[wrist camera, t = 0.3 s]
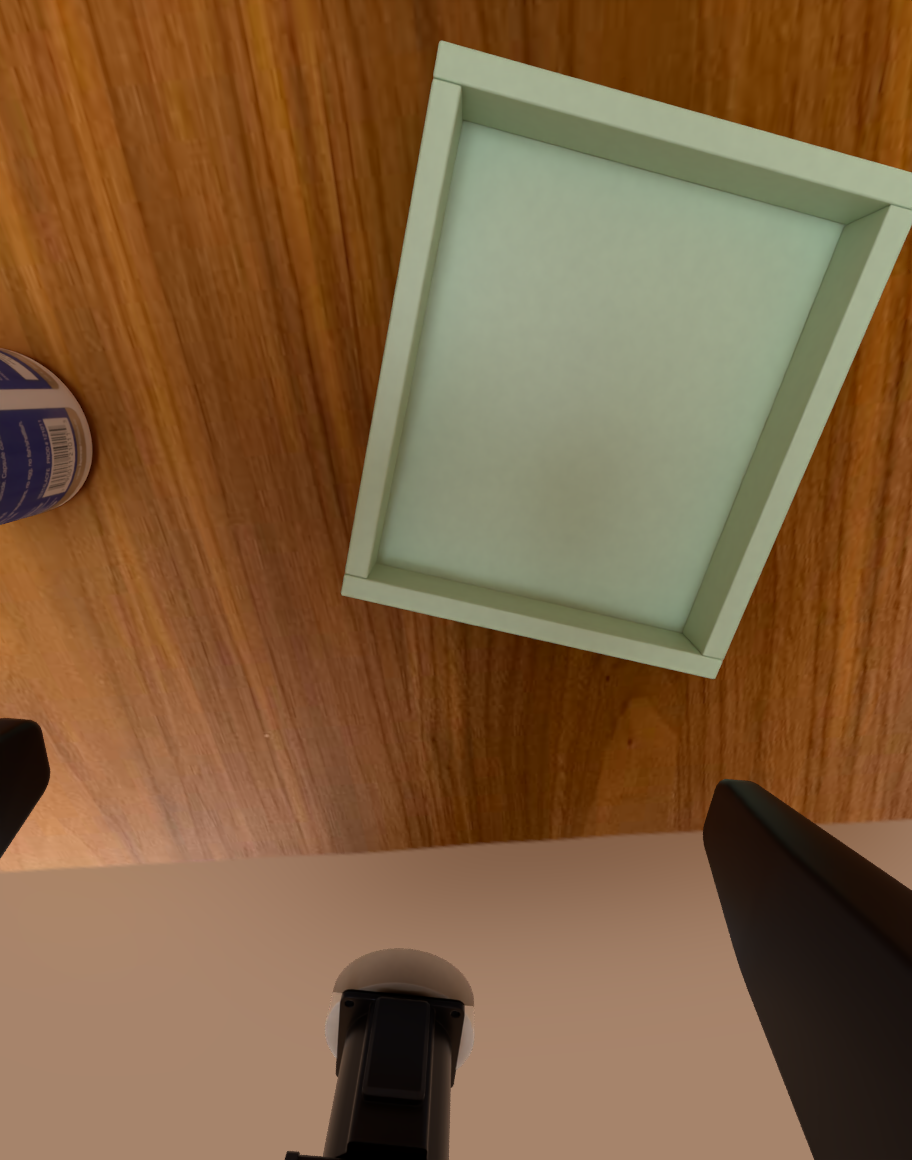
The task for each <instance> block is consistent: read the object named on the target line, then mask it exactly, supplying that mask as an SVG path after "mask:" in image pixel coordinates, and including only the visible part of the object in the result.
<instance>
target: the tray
mask: <svg viewBox="0 0 912 1160" xmlns="http://www.w3.org/2000/svg"><path fill="white" fill-rule="evenodd" d="M433 76H434V79H433V81H432V85H431V91H430V96H429V102H428V108H427V113H426V119H425V125H424V130H423V136H422V141H421V147H420V153H419V158H418V164H417V169H416V175H415V181H414V186H413V192H412V198H411V203H410V209H409V214H408V220H407V226H406V231H405V237H404V242H403V248H402V254H401V259H400V265H399V270H398V276H397V282H396V287H395V293H394V299H393V304H392V310H391V315H390V321H389V327H388V332H387V338H386V343H385V349H384V355H383V360H382V366H381V372H380V377H379V383H378V388H377V394H376V400H375V405H374V411H373V416H372V422H371V428H370V433H369V439H368V444H367V450H366V456H365V461H364V467H363V473H362V478H361V484H360V489H359V495H358V501H357V506H356V512H355V517H354V523H353V529H352V534H351V540H350V546H349V551H348V557H347V562H346V568H345V575H344V579H343V585H342V590H341V595H343V596H347V597H352V598H356V599H361V600H365V601H369V602H374V603H378V604H383V605H387V606H392V607H396V608H400V609H405V610H409V611H414V612H418V613H423V614H427V615H431V616H436V617H440V618H445V619H449V620H454V621H458V622H463V623H467V624H471V625H476V626H480V627H485V628H489V629H494V630H498V631H502V632H507V633H511V634H516V635H520V636H525V637H529V638H533V639H538V640H542V641H547V642H551V643H556V644H560V645H565V646H569V647H573V648H578V649H582V650H587V651H591V652H596V653H600V654H604V655H609V656H613V657H618V658H622V659H627V660H631V661H635V662H640V663H644V664H649V665H653V666H658V667H662V668H667V669H671V670H675V671H680V672H684V673H689V674H693V675H698V676H702V677H706V678H711V679H715V678H716V675H717V673H718V671H719V668H720V666H721V664H722V659H724V657H725V655H726V652H727V650H728V648H729V645H730V643H731V641H732V639H733V636H734V634H735V632H736V629H737V627H738V625H739V622H740V620H741V618H742V615H743V613H744V611H745V609H746V606H747V604H748V602H749V599H750V597H751V595H752V592H753V590H754V588H755V585H756V583H757V581H758V578H759V576H760V574H761V572H762V569H763V567H764V565H765V562H766V560H767V558H768V555H769V553H770V551H771V548H772V546H773V544H774V542H775V539H776V537H777V535H778V532H779V530H780V528H781V525H782V523H783V521H784V518H785V516H786V514H787V512H788V509H789V507H790V505H791V502H792V500H793V498H794V495H795V493H796V491H797V488H798V486H799V484H800V481H801V479H802V477H803V475H804V472H805V470H806V468H807V465H808V463H809V461H810V458H811V456H812V454H813V451H814V449H815V447H816V445H817V442H818V440H819V438H820V435H821V433H822V431H823V428H824V426H825V424H826V421H827V419H828V417H829V415H830V412H831V410H832V408H833V405H834V403H835V401H836V398H837V396H838V394H839V391H840V389H841V387H842V384H843V382H844V380H845V378H846V375H847V373H848V371H849V368H850V366H851V364H852V361H853V359H854V357H855V354H856V352H857V350H858V348H859V345H860V343H861V341H862V338H863V336H864V334H865V331H866V329H867V327H868V324H869V322H870V320H871V318H872V315H873V313H874V311H875V308H876V306H877V304H878V301H879V299H880V297H881V294H882V292H883V290H884V287H885V285H886V283H887V281H888V278H889V276H890V274H891V271H892V269H893V267H894V264H895V262H896V260H897V257H898V255H899V253H900V251H901V248H902V246H903V244H904V241H905V239H906V237H907V234H908V232H909V230H910V227H911V225H912V173H911V172H908V171H904V170H901V169H897V168H893V167H890V166H886V165H883V164H879V163H876V162H872V161H869V160H865V159H861V158H858V157H854V156H851V155H847V154H844V153H840V152H836V151H833V150H829V149H826V148H822V147H819V146H815V145H812V144H808V143H804V142H801V141H797V140H794V139H790V138H787V137H783V136H780V135H776V134H772V133H769V132H765V131H762V130H758V129H755V128H751V127H747V126H744V125H740V124H737V123H733V122H730V121H726V120H723V119H719V118H715V117H712V116H708V115H705V114H701V113H698V112H694V111H691V110H687V109H683V108H680V107H676V106H673V105H669V104H666V103H662V102H658V101H655V100H651V99H648V98H644V97H641V96H637V95H634V94H630V93H626V92H623V91H619V90H616V89H612V88H609V87H605V86H602V85H598V84H594V83H591V82H587V81H584V80H580V79H577V78H573V77H569V76H566V75H562V74H559V73H555V72H552V71H548V70H545V69H541V68H537V67H534V66H530V65H527V64H523V63H520V62H516V61H513V60H509V59H505V58H502V57H498V56H495V55H491V54H488V53H484V52H480V51H477V50H473V49H470V48H466V47H463V46H459V45H456V44H452V43H448V42H445V41H440V42H439V46H438V51H437V57H436V62H435V68H434V74H433Z"/></svg>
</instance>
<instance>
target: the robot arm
mask: <svg viewBox="0 0 912 1160" xmlns="http://www.w3.org/2000/svg"><path fill="white" fill-rule="evenodd" d="M49 779H50V767H49V762H48V757H47V753H46V748H45V743H44V739H43V734H42V730H41V727H40V726H39V725H38V724H37V723H36V722H34V721H32V720H25V719H13V718H1V719H0V858H1V857H2V855H3V854H4V852H5V851H6V849H7V848H8V846H9V845H10V843H11V842H12V840H13V839H14V837H15V836H16V834H17V833H18V831H19V830H20V828H21V827H22V825H23V823H24V822H25V820H26V819H27V817H28V816H29V814H30V813H31V811H32V810H33V808H34V807H35V805H36V804H37V802H38V801H39V799H40V798H41V796H42V795H43V793H44V791H45V790H46V788H47V785H48V783H49ZM703 841H704V847H705V850H706V854H707V857H708V860H709V864H710V867H711V871H712V874H713V878H714V882H715V885H716V889H717V892H718V896H719V899H720V902H721V905H722V910H723V913H724V917H725V920H726V923H727V927H728V931H729V934H730V938H731V941H732V944H733V948H734V951H735V954H736V957H737V961H738V964H739V967H740V970H741V973H742V975H743V978H744V981H745V983H746V986H747V989H748V992H749V994H750V996H751V999H752V1002H753V1004H754V1007H755V1009H756V1012H757V1015H758V1017H759V1020H760V1022H761V1025H762V1027H763V1030H764V1032H765V1035H766V1038H767V1040H768V1043H769V1045H770V1048H771V1050H772V1053H773V1055H774V1058H775V1061H776V1063H777V1065H778V1068H779V1071H780V1073H781V1076H782V1078H783V1081H784V1084H785V1086H786V1089H787V1091H788V1094H789V1096H790V1099H791V1101H792V1104H793V1106H794V1109H795V1112H796V1114H797V1117H798V1119H799V1122H800V1124H801V1127H802V1130H803V1132H804V1135H805V1137H806V1140H807V1142H808V1145H809V1147H810V1150H811V1153H812V1155H813V1158H814V1160H912V890H910V889H909V888H907V887H906V886H904V885H903V884H902V883H900V882H899V881H897V880H896V879H894V878H893V877H891V876H890V875H888V874H887V873H886V872H884V871H883V870H881V869H880V868H878V867H877V866H875V865H874V864H873V863H871V862H869V861H868V860H867V859H865V858H864V857H862V856H861V855H859V854H858V853H857V852H855V851H854V850H852V849H851V848H849V847H848V846H846V845H845V844H843V843H842V842H840V841H839V840H837V839H836V838H835V837H833V836H832V835H830V834H829V833H827V832H826V831H825V830H823V829H822V828H820V827H819V826H817V825H816V824H814V823H813V822H811V821H810V820H809V819H807V818H806V817H804V816H803V815H801V814H800V813H798V812H797V811H795V810H794V809H793V808H791V807H790V806H788V805H787V804H785V803H784V802H782V801H781V800H779V799H778V798H777V797H775V796H774V795H772V794H771V793H769V792H768V791H766V790H765V789H763V788H762V787H761V786H759V785H758V784H756V783H754V782H751V781H742V780H730V779H724V780H722V781H720V782H719V783H718V784H717V786H716V788H715V791H714V794H713V798H712V801H711V804H710V807H709V811H708V814H707V817H706V820H705V824H704V828H703ZM464 1017H465V1005H464V1003H463V1002H462V1001H460V1000H455V999H445V998H435V997H425V996H415V995H405V994H395V993H385V992H375V991H365V990H355V989H347V990H345V991H344V992H342V995H341V1000H340V1010H339V1027H338V1044H337V1061H336V1075H337V1077H338V1080H337V1085H336V1091H335V1096H334V1101H333V1106H332V1112H331V1117H330V1122H329V1127H328V1132H327V1138H326V1143H325V1148H324V1153H323V1157H321V1156H308V1155H300V1153H299V1152H294V1151H287V1154H286V1157H285V1160H449V1128H450V1091H451V1087H452V1086H453V1084H454V1079H455V1072H456V1066H457V1060H458V1054H459V1048H460V1042H461V1036H462V1030H463V1023H464Z"/></svg>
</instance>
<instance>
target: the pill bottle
mask: <svg viewBox="0 0 912 1160" xmlns="http://www.w3.org/2000/svg"><path fill="white" fill-rule="evenodd" d="M91 462H92V439H91V433H90V429H89V426H88V423H87V420H86V417H85V415H84V413H83V411H82V409H81V407H80V405H79V403H78V402H77V400H76V398H75V397H74V396H73V394H72V393H71V392H70V390H69V389H68V388H67V387H66V386H65V385H64V383H63V382H62V381H61V380H60V379H59V378H58V377H57V376H56V375H54V374H53V373H52V372H51V371H49V370H48V369H47V368H46V367H44V366H42V365H41V364H39V363H38V362H36V361H34V360H32V359H31V358H29V357H26V356H24V355H22V354H19V353H17V352H14V351H10V350H7V349H2V348H0V525H2V524H5V523H8V522H12V521H15V520H19V519H22V518H26V517H29V516H33V515H37V514H40V513H43V512H46V511H49V510H52V509H54V508H56V507H59V506H61V505H63V504H64V503H66V502H67V501H68V500H70V499H71V498H72V497H73V496H74V495H75V494H76V493H77V492H78V491H79V489H80V488H81V487H82V486H83V484H84V482H85V480H86V478H87V476H88V473H89V471H90V467H91Z"/></svg>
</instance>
